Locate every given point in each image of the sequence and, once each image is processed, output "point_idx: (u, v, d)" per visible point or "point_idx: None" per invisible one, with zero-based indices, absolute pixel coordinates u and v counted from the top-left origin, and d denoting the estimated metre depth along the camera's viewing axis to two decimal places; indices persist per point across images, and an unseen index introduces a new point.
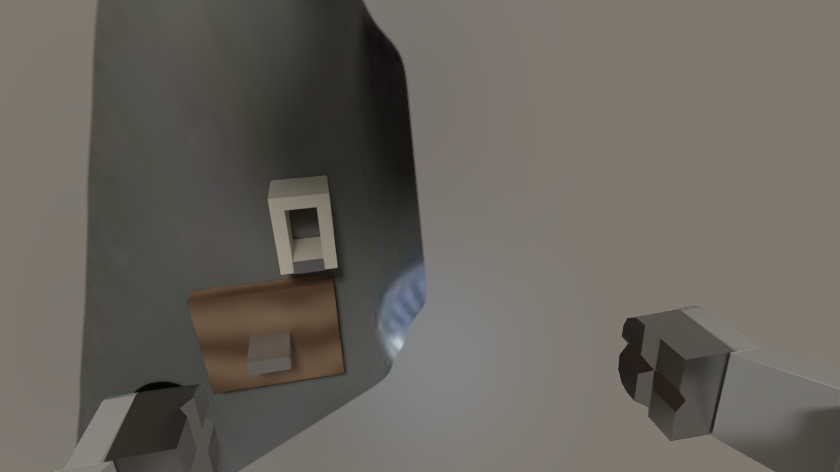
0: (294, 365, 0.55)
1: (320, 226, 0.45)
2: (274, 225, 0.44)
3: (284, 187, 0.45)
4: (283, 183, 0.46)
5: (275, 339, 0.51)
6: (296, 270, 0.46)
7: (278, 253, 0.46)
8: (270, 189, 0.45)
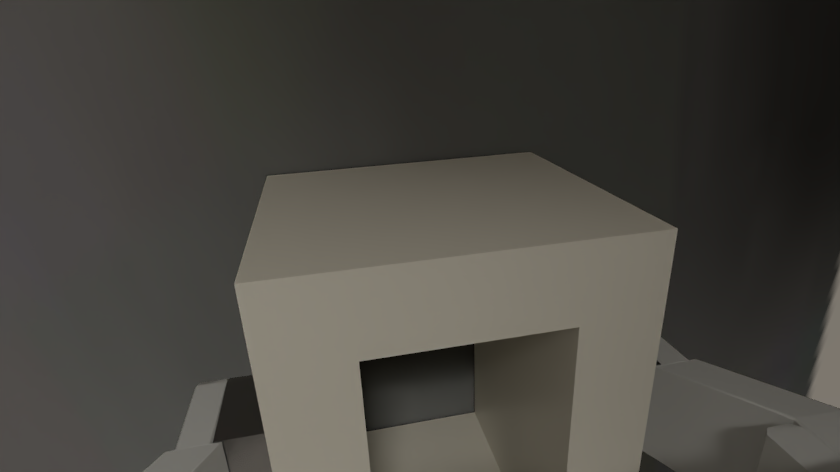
0: None
1: (575, 442, 0.07)
2: (286, 463, 0.06)
3: (346, 202, 0.08)
4: (333, 184, 0.09)
5: None
6: None
7: None
8: (263, 214, 0.07)
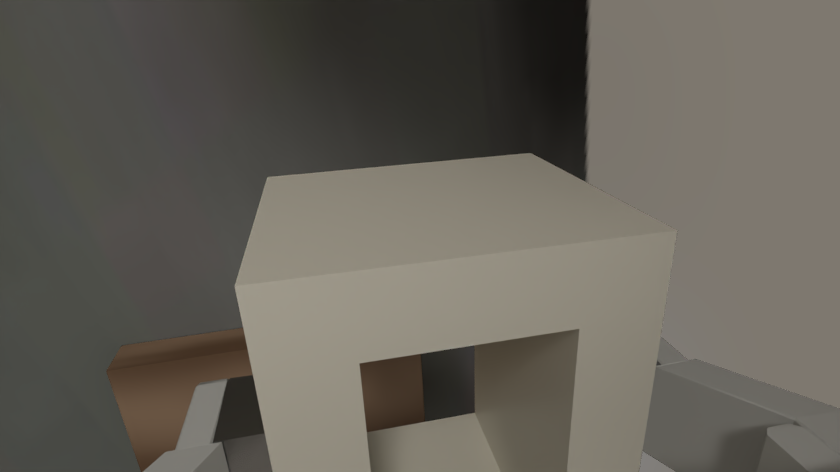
0: None
1: (575, 443, 0.07)
2: (286, 465, 0.06)
3: (347, 204, 0.08)
4: (333, 184, 0.09)
5: None
6: None
7: None
8: (264, 215, 0.07)
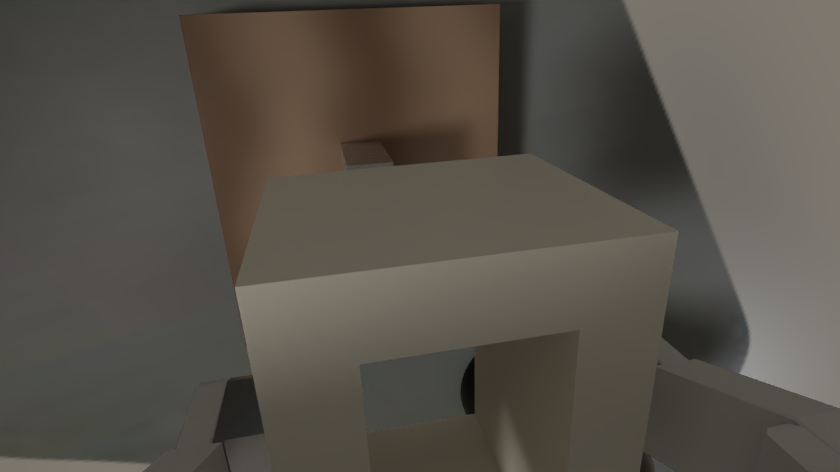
0: (450, 138, 0.22)
1: (576, 444, 0.07)
2: (286, 466, 0.06)
3: (347, 205, 0.08)
4: (333, 185, 0.09)
5: None
6: None
7: None
8: (264, 216, 0.07)
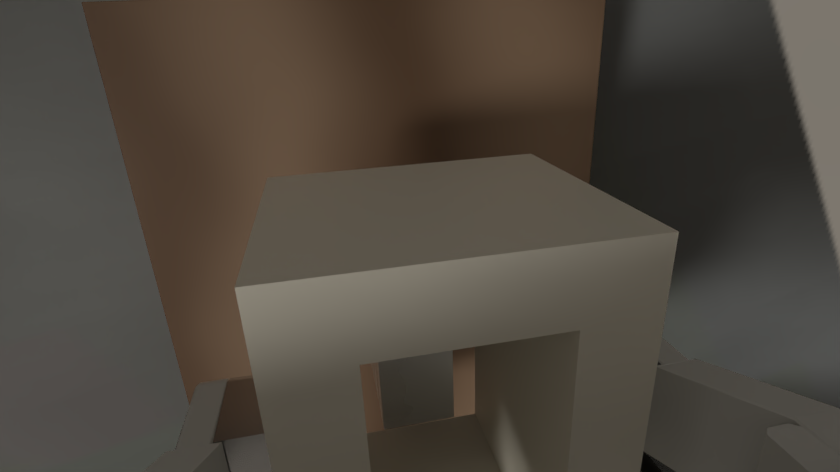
0: None
1: (576, 444, 0.07)
2: (286, 467, 0.06)
3: (347, 205, 0.08)
4: (333, 185, 0.09)
5: None
6: None
7: None
8: (264, 216, 0.07)
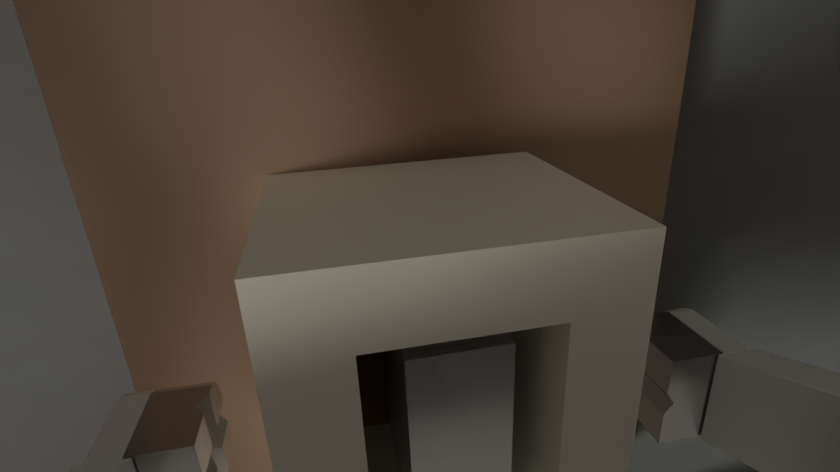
0: None
1: (568, 435, 0.07)
2: (285, 455, 0.06)
3: (344, 201, 0.08)
4: (332, 182, 0.09)
5: None
6: None
7: None
8: (263, 211, 0.08)
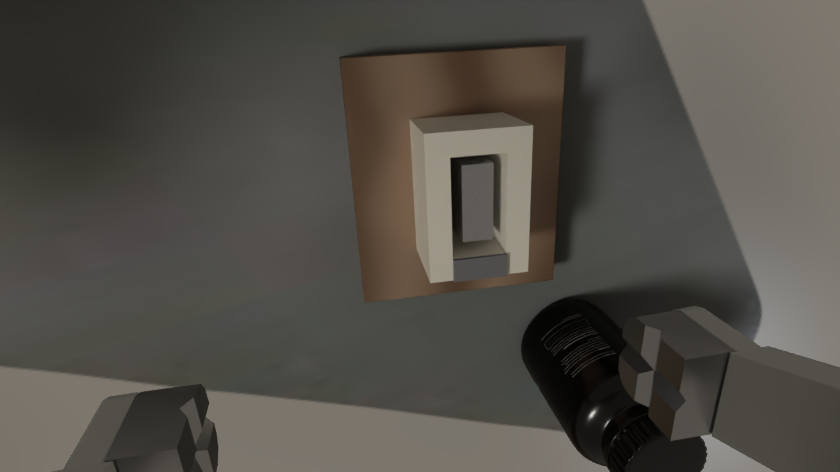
0: None
1: (509, 191, 0.25)
2: (429, 187, 0.24)
3: (441, 123, 0.25)
4: (434, 120, 0.26)
5: None
6: (458, 275, 0.26)
7: (430, 242, 0.25)
8: (418, 125, 0.25)
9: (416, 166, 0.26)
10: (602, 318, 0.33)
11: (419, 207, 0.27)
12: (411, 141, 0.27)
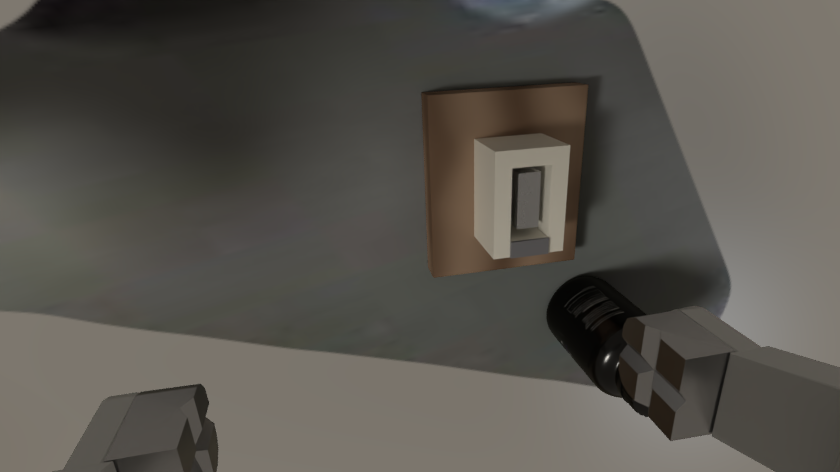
0: None
1: (552, 192, 0.34)
2: (497, 189, 0.33)
3: (502, 142, 0.35)
4: (494, 140, 0.36)
5: None
6: (514, 253, 0.35)
7: (495, 229, 0.34)
8: (485, 144, 0.34)
9: (481, 174, 0.36)
10: (610, 289, 0.43)
11: (482, 204, 0.36)
12: (475, 155, 0.37)
